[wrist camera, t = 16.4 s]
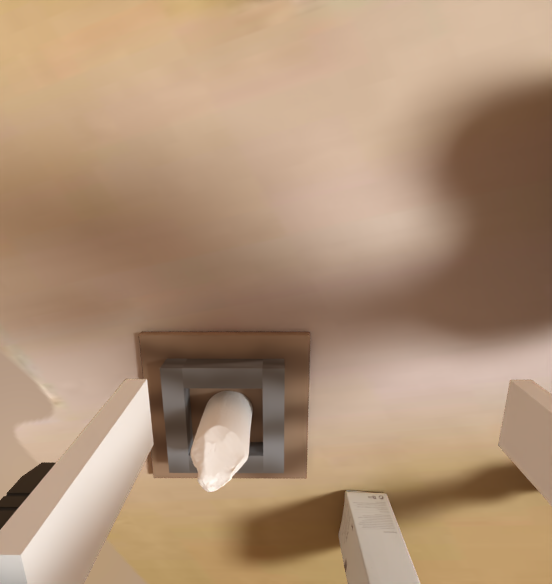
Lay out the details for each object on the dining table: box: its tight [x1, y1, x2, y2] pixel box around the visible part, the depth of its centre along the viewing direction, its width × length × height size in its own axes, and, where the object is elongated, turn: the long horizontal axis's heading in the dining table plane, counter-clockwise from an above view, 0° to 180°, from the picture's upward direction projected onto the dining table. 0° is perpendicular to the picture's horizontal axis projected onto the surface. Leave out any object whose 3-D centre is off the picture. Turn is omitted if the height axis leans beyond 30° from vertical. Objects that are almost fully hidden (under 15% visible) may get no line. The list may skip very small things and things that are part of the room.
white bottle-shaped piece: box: [190, 391, 253, 492], centre depth 39 cm, size 6×12×6 cm
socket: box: [139, 332, 310, 478], centre depth 44 cm, size 20×20×4 cm
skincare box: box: [339, 491, 420, 584], centre depth 43 cm, size 8×6×15 cm
